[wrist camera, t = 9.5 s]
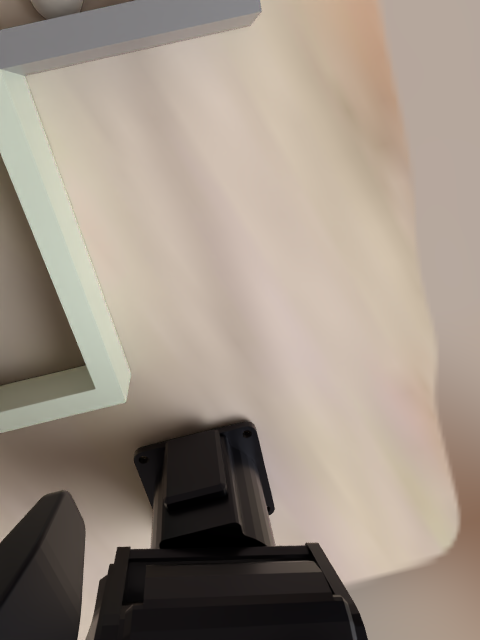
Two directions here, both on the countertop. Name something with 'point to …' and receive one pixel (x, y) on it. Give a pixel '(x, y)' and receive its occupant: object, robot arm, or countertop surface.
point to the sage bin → (57, 276)
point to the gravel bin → (114, 30)
